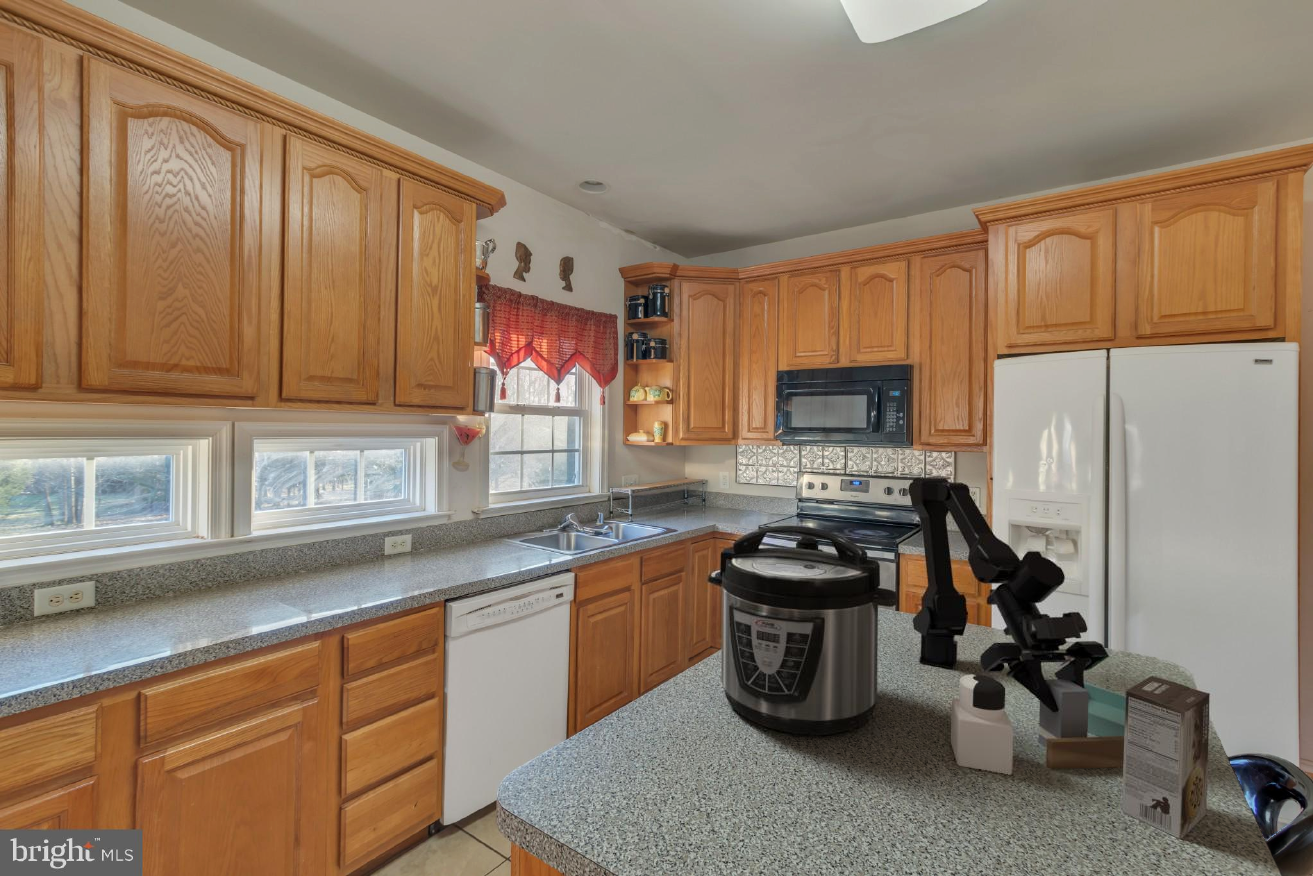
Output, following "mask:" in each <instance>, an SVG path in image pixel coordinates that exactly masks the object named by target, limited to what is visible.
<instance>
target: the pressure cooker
mask: <svg viewBox="0 0 1313 876" xmlns="http://www.w3.org/2000/svg"><path fill="white" fill-rule="evenodd" d="M767 533H795V534H799V535H802V536H800V537H799V538H798V539H796V543H795V547H762V548H761V547H760V546H761V544H762V543H763V540H764V539H765V536H766V535H767ZM816 538H818V539H823V540H827V541H830V542H831V543H832V546H833V547H834V549H835V552H833V551H828V550H824V549H820V548H819V543H820V541H819V540H817V539H816ZM719 563H720V564H719V565H720V569H717V570H714V571H712V572H710V573H709V574H708V576H707V579H706V582H707V583H710V584H712V585H715V586H717V587H721V666H720V667H721V676H720V679H721V685H722V688H723V690H724V695H725V698H726V700H727V701H728V703H729V704H730V705H731V707H732V708H733V709H734V710H735V711H736V712H738V714H740V715H742V716H743V717H745V718H747V719H748V720H750V721H752V722H753V723H756V724H759V725H761V726H763V727H765V728H770V729H773V730H776V731H780V732H786V733H791V734H798V735H799V734H801V735H813V736H821V735H822V736H823V735H833V734H834V735H835V734H838V733H843V732H848V731H851V730H853V729H857V728H858V727H860V726H862V725H863V724H864V723H865V722H867V721H868V719H869V718H870V717H871V716H872V714H873V711H874V710H875V708H876V702H877V698H878V662H879V661H878V660H879V659H878V657H879V656H878V655H879V654H878V653H879V652H878V651H879V650H878V649H879V648H878V645H879V644H878V640H879V638H878V637H879V636H878V635H879V606H880V607H886V608H887V607H888V608H890V607H891V608H892V607H895V606H896V605H897V604H898V592H897V591H895V590H891V589H889V588H888V589H887V588H882V587H880V586H881V569H880V568H881V567H880V566H881V565H880V563H879V561H878V560H876V559H868V551H866V550H865V549H864V548H863V547H861V546H860V545H858V544H856V543H855V542H853V541H852V540H849V539H848V538H845V537H843V536H841V535H839V534H836V533H833V532H832V531H831V532H830V531H827V530H824V529H819V528H816V527H815V528H814V527H810V526H809V527H808V526H800V525H775V526H768V527H765V528H759V529H757V530H754V531H751V532H749V533H746V534H744V535H742V536H740V537H739V538H738V539H736V540H735V541H734V542H733V544H732V546H729V547H726V548H723V549H722V550H721V551H720V562H719Z"/></svg>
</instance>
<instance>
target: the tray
mask: <svg viewBox="0 0 1313 876" xmlns="http://www.w3.org/2000/svg"><path fill="white" fill-rule="evenodd" d="M1084 687H1085V689H1086V690H1087V691H1089V704H1088V733H1090V734H1093V735H1095V736H1097V737H1113V736H1122V737H1125V707H1126V694H1123V693H1120V692H1118V691H1114V690H1110V689H1107V688H1104V687H1101V686H1098V685H1094V684H1092V683H1089V682H1088V683H1087V682H1085V681H1084Z"/></svg>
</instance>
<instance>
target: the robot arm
mask: <svg viewBox="0 0 1313 876" xmlns="http://www.w3.org/2000/svg"><path fill="white" fill-rule="evenodd" d="M907 491H908V495H909V496H910V502H911V506H912V508H913V510H914V511H915V513H916V514H917V515H918V516H919V518H920V520H921V528H922V529H921V530H922V539H923V548H924V559H925V568H926V569H925V570H926V578H927V588H926V589H925V592H924V593H923V595H922V597H921V609H919V611H918V612H917V614H916V615H914V617H913V618H912V624H913V625H912V626H913V629H914V631H916V632H918V633H919V634H920V656H919V660H918V662H919V663H921V664H926V665H929V666H930V665H931V666H935V667H940V668H945V669H950V670H953V669H954V668H955V667H954V666H955V665H956V664H957V661H958V645H959V644H958V640H955V637H956V636H961V637H963V636H964V633H965V629H966V628H967V627H966V626H967V623H968V619H969V617H968V616H969V612H968V609H967V598H966V596H965V594H961V593H960V592H959V591H958V590H957V588H956V586H955V584H954V577H953V569H952V560H951V557H952V556H951V549H950V541H949V533H948V524H947V516H948V514H949V513H950V516H951V517H952V518H953V520H954V522H955V524H956V526H957V528H958V530H959V531H960V534H961V535H962V537H963V540H964V541H965V543H966V544H967V547H968V549H969V550H968V556H967V561H968V564H969V566H970V568H971V573H972V574H973V576H974V578H975V579H976V580H977V581H978V582H979V583H982V584H991V585H992V584H993V585H994V584H997V585H998V584H999V585H998V586H997V587H996V588H995V589H989V594H988V596H987V597H986V604H987V605H988V606H990V605H992V606H993V605H994V606H995V605H996V608H997V610H998V611H999V613H1000V616H1001V617H1002V619H1003V620H1004V623H1005V626H1006V627H1005V628H1004V629H1003V633H1004V635H1005V636H1011V637H1012V640H1013V641H1012V642H1011V641H1010V642H1009V641H1008V642H993V643H992V644H991V645H990V646H989V647H988V648H987V649H986V650H984V651H983V652H982V654H980V657H979V660H980V661H979V662H980V665H981V668H983V671H984V673H986V674H991V673H992V674H996V673H1002V672H1003V671H1004V670H1005V667H1006V666H1005V664H1007V667H1008V671H1007V672H1006V673H1005V675H1006V676H1007V678H1012V679H1013V680H1014V681H1016V682H1017V683H1019V684H1020V685H1021V686H1022V687H1024V689H1026V690H1027V691H1028V692H1030V693H1031V695H1033V696H1034V697H1035V698H1036V699H1037V700H1038V701H1039V702H1040V701H1041V702H1042V703H1043V704H1044V705H1045V706H1046V707H1047V708H1049V709H1050V710H1051V711H1052V712H1053V713H1056V712H1057V711H1058V710H1059V709H1058V706H1057V704H1056V701H1055V699H1054V697H1053V695H1052V693H1051V690H1050V688H1049V686H1048V684H1047V682H1046V680H1045V677H1044V675H1043V674H1044V673H1043V670H1042V669H1043V668H1042V667H1043V666H1042V663H1055V665H1056V667H1057V669H1058V670H1057V671H1056V672H1054V673H1053V674H1054V676H1055V677H1056V679H1067V680H1069V681H1071V682H1073V683H1075V684H1076V685H1078V686H1080V687H1082V688H1084V689H1085V687H1084V682H1085V680H1084V679H1085V678H1084V676H1085V675H1084V673H1085V672H1086V671H1089V670H1090V671H1091V669H1093V668H1094V667H1096V666H1098V665H1099V664H1100V663H1101V662H1104V661H1105V660H1106V659H1108V658H1109V657H1110V655H1109V653H1108V652H1107V650H1106V649H1105V647H1104V645H1103V643H1102V642H1098V641H1095V640H1089V641H1088V640H1087V641H1086V640H1084V641H1083V640H1081V641H1080V640H1079V641H1075V642H1074V643H1072V644H1071V645H1070V646H1068V647H1067V648H1065V649H1060V647H1061V646H1064V645H1065V644H1067V643H1068V641H1067V639H1073V638H1074V639H1082V635H1081V634H1083V633H1087V631H1088V625H1087V622H1086V620H1085V619H1084V617H1083V616H1082V614H1081V613H1080V612H1079V611H1069V612H1063V613H1062V616H1050V615H1049V614H1048V613H1041V611H1040V610H1039V607H1038V606H1037V604H1039V603H1042V602H1044V601H1045V600H1046V599H1047V598H1048V597H1049V596H1051V595H1052V594H1053V593H1054V592H1055V591H1056V590H1057V589H1059V587H1060V586H1062V585H1063V584H1064V582H1065V578H1066V577H1065V573H1064V570H1063V568H1061V566H1058V565H1057V564H1056V563H1055V562H1054V561H1052V560H1050V559H1049V558H1047V557H1044V556H1043V555H1042V554H1041V552H1040V551H1030V550H1028V551H1027V552H1026V553H1025V554H1024V555H1023V557H1022V559H1020V557H1019V556H1018V554H1017V553H1015V551H1014V550H1013V549H1012V548H1011V546H1010V545H1009V544H1007V543H1006V542H1004V541H1003V540H1001V539H999V537H997V536H996V535H995V534H994V532H993V530H992V529H991V527H990V526H989V523H988V522H987V521H986V518H985V517H984V516H983V513H982V512H981V511H980V509H979V507H978V505H977V503H976V502H975V500H974V499H973V497H972V495H971V491H970V487H969V485H967V484H966V483H964V482H951V481H949V480H948V479H947V478H945V477H935V476H934V477H927V476H925V477H923V476H922V477H921V476H920V477H919V476H918V477H917V476H916V477H915V478H914V479H912V482H910V483H909V485H908V490H907Z"/></svg>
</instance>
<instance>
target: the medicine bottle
mask: <svg viewBox="0 0 1313 876" xmlns="http://www.w3.org/2000/svg"><path fill="white" fill-rule="evenodd" d="M958 682H959V686H958V687H959V688H958V698H952V699H951V718H950V721H951V724H950V743H951V747H952V752H953V753H954V754H953V755H954V757H955V761H956V764H957V766H959V767H965V768H969V767H970V768H969V769H975V770H979V769H981V771H985V770H987V771H986V772H990V771H991V773H996V772H997V774H1001V773H1003V774H1002V775H1007V774H1008V775H1009V776H1011V775H1012V774H1013V756H1014V755H1013V753H1014V752H1013V751H1014V727H1013V724H1012V722H1011V720H1010V719H1009V717H1008V715H1007V713H1006V711H1005V709H1006V687H1005V686H1004V685H1003V683H1001V682H1000V681H999V680H997V679H995V678H993V677H990V676H988V675H983V674H977V673H976V674H975V673H974V674H972V673H971V674H966V675H963V676H961V677H960V679H959V681H958ZM1008 775H1007V776H1008Z"/></svg>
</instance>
